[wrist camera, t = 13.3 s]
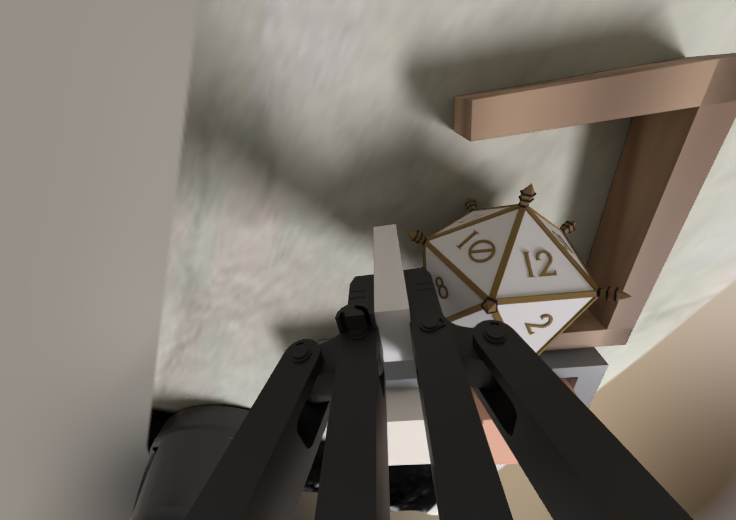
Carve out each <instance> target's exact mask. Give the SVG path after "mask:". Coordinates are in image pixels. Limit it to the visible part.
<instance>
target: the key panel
mask: <svg viewBox="0 0 736 520" xmlns="http://www.w3.org/2000/svg"><path fill="white" fill-rule="evenodd" d="M331 340H332V339H331ZM327 341H329V340H319V342H318V344H322V343H324V342H327ZM539 357H540V358H541V359H542V360H543V361H544V362H545V363H546V364H547V365H548V366H549V367H550V368H551V369H552V370H553V371H554V372H555V374H556V375H557V376H558V377H559V378H566V379H567V381H568V382H569V384H570V385H571V387H572V388H573V390H574V391H575V393H576V395H577V396H578V398H579V399H580V400H581V401H582V402H583V403H584V404H585V405H586V406H587V407H588V408H589V406H590V404H591V402H592V400H593V398H594V395H595V393H596V391H597V389H598V387H599V385H600V383H601V380H602V378H603V376H604V374H605V372H606V370H607V367H608V364H607V362H606V361H605V360H604V359H603V357H602V356H601V355H600V354H599V353H598V351H597V350H596V349H595V348H594V347H586V348H573V349H560V350H547V351H543V352H542V353H541V354H540V355H539ZM384 370H385V375H386V390H389V389H404V388H419V387H418V384H417V375H416V366H415V362H414V360H404V361H391V362H384ZM327 426H328V422H327V425H326V427H327Z"/></svg>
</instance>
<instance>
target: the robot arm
mask: <svg viewBox="0 0 736 520" xmlns="http://www.w3.org/2000/svg"><path fill="white" fill-rule="evenodd" d="M335 319H336V322H337V325H338V328H339V331H340V334H339V335H338V336H337V337H335V338H334V339H332V340H329V341H327V342H324V343H322V344H318V343H317V342H316V341H314V340H311V339H303V340H300V341H297V342H295V343H294V344H292V345H291V346H289V348H288V349H287V350H286V351H285V353H284V354H283V356H282V358H281V359H280V361H279V363H278V364H277V366H276V368H275V369H274V371H273V373H272V374H271V376H270V378H269V379H268V381H267V383H266V384H265V386H264V388H263V389H262V391H261V393H260V394H259V396H258V398H257V399H256V401H255V403H254V404H253V406H252V408H251V409H250V411H249V410H245V409H240V408H235V407H228V406H197V407H191V408H187V409H184V410H181V411H178V412H176V413H174V414H173V415H171V416H170V417H169V418H168V419H167V421H166V422H165V424H164V426H163V427H162V429H161V430H160V432H159V434H158V435H157V437H156V438H155V440H154V442H153V444H152V447H151V450H150V455H149V456H150V459H149V461H148V464H147V466H146V469H145V472H144V475H143V478H142V481H141V484H140V487H139V491H138V494H137V497H136V501H135V504H134V508H133V511H132V514H131V518H130V520H292V518H293V515H294V512H295V510H296V507H297V504H298V502H299V499H300V496H301V493H302V491H303V488H304V485H305V482H306V480H307V477H308V474H309V471H310V469H311V466H312V463H313V461H314V458H315V455H316V452H317V450H318V447H319V444H320V441H321V439H322V436H323V433H324V430H325V428H326V425H327V422H328V426H327V433H326V440H325V447H324V455H323V462H322V469H321V476H320V483H319V491H318V498H317V506H316V512H315V520H390V503H389V471H388V439H387V407H386V375H385V370H384V362H391V361H404V360H414V362H415V366H416V375H417V384H418V387H419V393H420V400H421V406H422V412H423V419H424V425H425V431H426V438H427V444H428V450H429V456H430V463H431V469H432V475H433V482H434V488H435V494H436V501H437V507H438V513H439V519H440V520H513V518H512V515H511V512H510V508H509V505H508V503H507V499H506V496H505V493H504V490H503V487H502V484H501V481H500V478H499V475H498V472H497V468H496V465H495V462H494V459H493V456H492V453H491V450H490V447H489V444H488V441H487V438H486V435H485V431H484V428H483V425H482V422H481V419H480V416H479V413H478V410H477V407H476V404H475V401H474V398H473V395H472V391H471V388H470V386H471V387H472V388H473V390H474V392H475V393H476V395H477V396H478V398H479V400H480V401H481V403H482V405H483V406H484V408H485V409H486V411H487V413H488V414H489V416H490V418H491V419H492V421H493V422H494V424H495V426H496V427H497V429H498V430H499V432H500V434H501V435H502V437H503V439H504V440H505V442H506V443H507V445H508V447H509V448H510V450H511V452H512V453H513V455H514V456H515V458H516V460H517V461H518V463H519V465H520V466H521V468H522V469H523V471H524V473H525V474H526V476H527V477H528V479H529V481H530V482H531V484H532V485H533V487H534V489H535V491H536V492H537V494H538V495H539V497H540V499H541V500H542V502H543V503H544V505H545V507H546V508H547V510H548V512H549V513H550V515H551V517H552V518H553V519H554V520H693V519H692V518H691V517H690V516H689V514H687V512H686V511H685V510H684V509H683V508H682V507H681V506H680V505H679V504H678V503H677V502H676V501H675V500H674V499H673V498H672V497H671V496H670V494H669V493H668V492H667V491H666V490H665V489H664V488H663V487H662V486H661V485H660V484H659V483H658V482H657V481H656V480H655V478H654V477H653V476H652V475H651V474H650V473H649V472H648V471H647V470H646V469H645V468H644V467H643V466H642V465H641V464H640V463H639V462H638V460H637V459H636V458H635V457H634V456H633V455H632V454H631V453H630V452H629V451H628V450H627V449H626V448H625V447H624V446H623V445H622V443H621V442H620V441H619V440H618V439H617V438H616V437H615V436H614V435H613V434H612V433H611V432H610V431H609V430H608V429H607V428H606V427H605V425H604V424H603V423H602V422H601V421H600V420H599V419H598V418H597V417H596V416H595V415H594V414H593V413H592V412H591V411H590V410H589V408H588V407H587V406H586V405H585V404H584V403H583V402H582V401H581V400H580V399H579V398H578V397H577V396H576V395H575V394H574V393H573V392H572V390H571V389H570V388H569V387H568V386H567V385H566V384H565V383H564V382H563V381H562V380H561V379H560V378H559V377H558V376H557V375H556V374H555V372H554V371H553V370H552V369H551V368H550V367H549V366H548V365H547V364H546V363H545V362H544V361H543V360H542V359H541V358H540V357H539V355H538V354H537V353H536V352H535V351H534V350H533V349H532V348H531V347H530V346H529V345H528V344H527V343H526V342H525V341H524V340H523V339H522V337H521V336H520V335H519V334H518V333H517V332H516V331H515V330H514V329H513V328H512V327H510V326H509V325H508V324H506V323H503V322H501V321H497V320H485V321H482V322H480V323H478V324H477V325H476V326H475V328H470V327H463V326H459V325H456V324H454V323H451V322H450V321H449V320H447V318H446V317H445V316H444V315H443V313H442V309H441V306H440V303H439V299H438V296H437V293H436V289H435V286H434V283H433V279H432V276H431V273H429V272H428V271H427V270H426V269H425V268H417V269H409V270H403V266H402V260H401V254H400V248H399V242H398V235H397V229H396V224H392V225H385V226H377V227H374V274H373V275H365V276H357V277H355V278H354V279H353V281H352V282H351V283H350V289H349V300H348V305H346V306H344V307H342V308H341V309H340V310H339V311H338V312H337V315H336V317H335Z"/></svg>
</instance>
